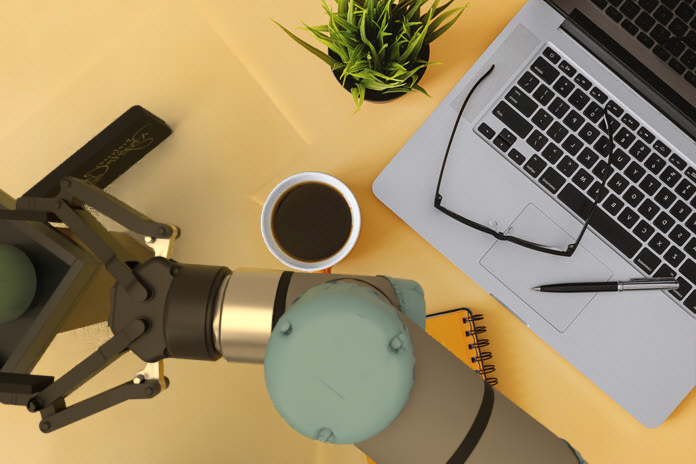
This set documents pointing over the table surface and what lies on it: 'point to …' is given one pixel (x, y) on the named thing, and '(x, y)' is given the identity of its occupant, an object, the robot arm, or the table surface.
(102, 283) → the stand
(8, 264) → the mug
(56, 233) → the tray
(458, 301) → the table surface
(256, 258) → the table surface
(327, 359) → the robot arm
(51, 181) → the nameplate
